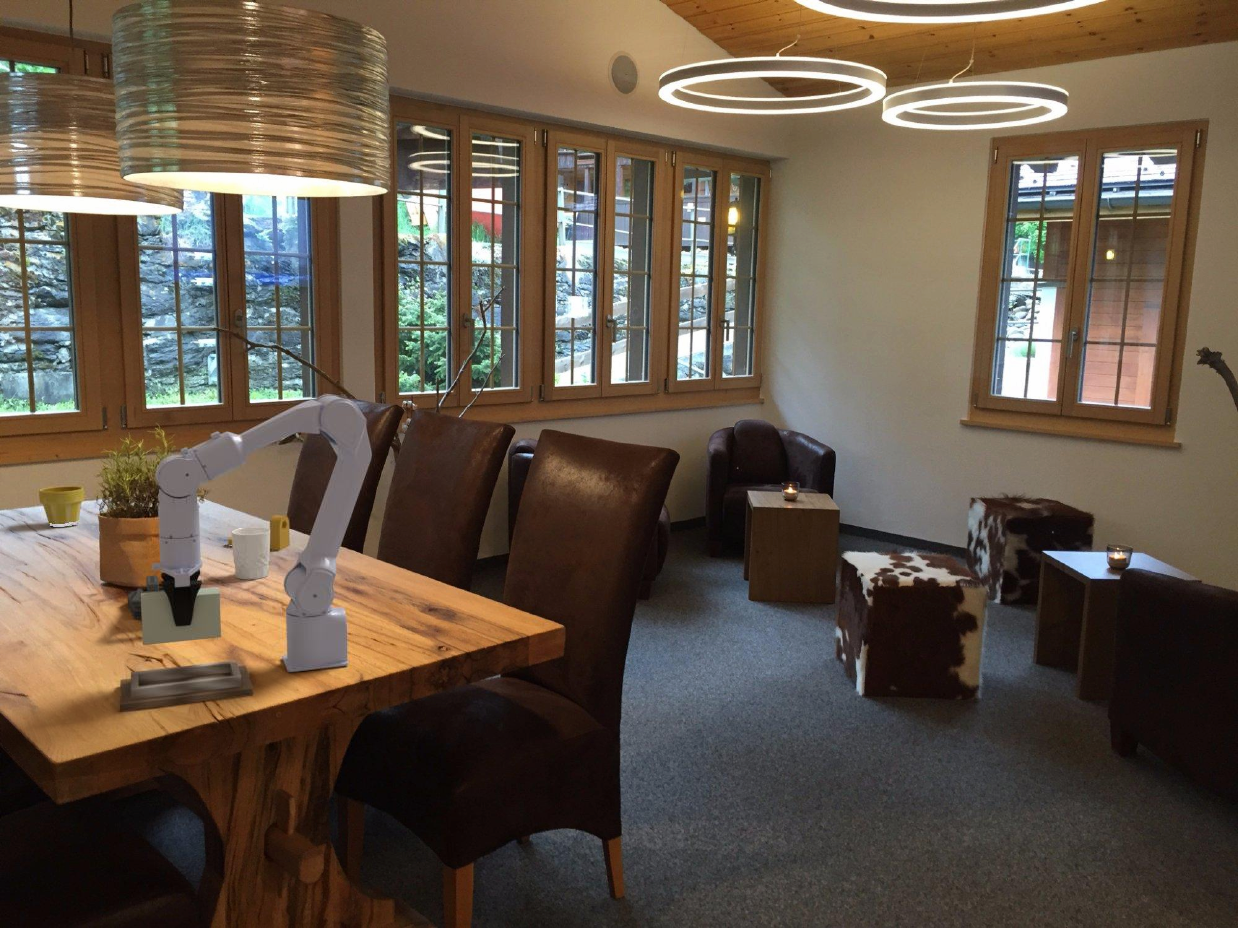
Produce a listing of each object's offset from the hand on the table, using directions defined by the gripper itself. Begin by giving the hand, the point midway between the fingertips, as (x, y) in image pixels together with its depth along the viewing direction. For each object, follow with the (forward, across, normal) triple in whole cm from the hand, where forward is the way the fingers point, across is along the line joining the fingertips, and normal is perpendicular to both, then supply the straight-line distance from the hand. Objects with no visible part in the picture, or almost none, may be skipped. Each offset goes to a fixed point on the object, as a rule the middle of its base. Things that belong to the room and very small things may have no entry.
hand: (182, 621), depth 158 cm
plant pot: (+10, -134, -26) cm, 137 cm away
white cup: (+10, -63, +15) cm, 66 cm away
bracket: (+10, -92, +19) cm, 95 cm away
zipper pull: (+10, -38, -4) cm, 39 cm away
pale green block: (+3, 0, 0) cm, 3 cm away
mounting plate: (+9, +5, 0) cm, 11 cm away
